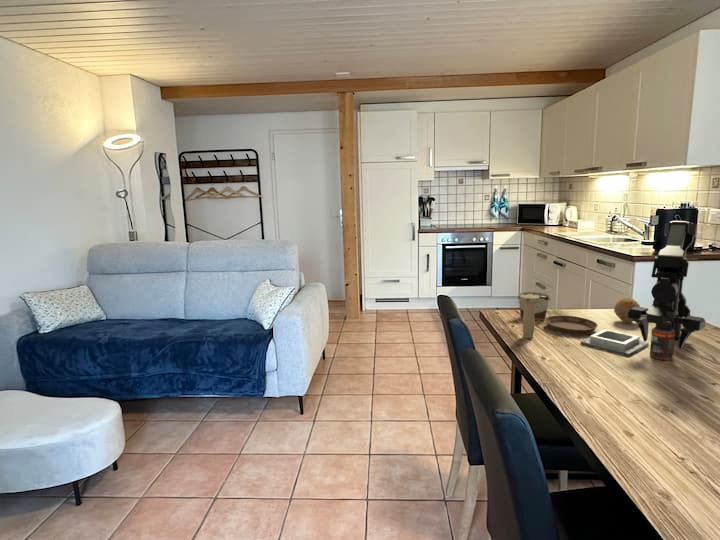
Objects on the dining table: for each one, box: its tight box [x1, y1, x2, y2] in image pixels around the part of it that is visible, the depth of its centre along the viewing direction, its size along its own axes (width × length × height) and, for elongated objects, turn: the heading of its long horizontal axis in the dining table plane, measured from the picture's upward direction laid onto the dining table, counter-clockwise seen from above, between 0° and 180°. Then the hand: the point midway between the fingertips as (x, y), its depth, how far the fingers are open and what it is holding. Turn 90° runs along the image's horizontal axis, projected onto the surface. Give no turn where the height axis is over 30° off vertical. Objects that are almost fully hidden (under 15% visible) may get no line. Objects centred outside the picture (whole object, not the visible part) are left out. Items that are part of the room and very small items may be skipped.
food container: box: [517, 291, 551, 321], centre depth 179 cm, size 12×6×10 cm, turn 71°
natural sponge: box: [613, 296, 641, 324], centre depth 168 cm, size 9×9×10 cm
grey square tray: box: [580, 328, 650, 358], centre depth 145 cm, size 15×15×3 cm
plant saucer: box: [544, 315, 598, 336], centre depth 163 cm, size 18×18×3 cm
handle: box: [520, 295, 539, 339], centre depth 154 cm, size 5×6×15 cm
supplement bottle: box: [649, 321, 676, 361], centre depth 133 cm, size 6×6×11 cm
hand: (662, 344), depth 133 cm, fingers open, 9 cm apart
